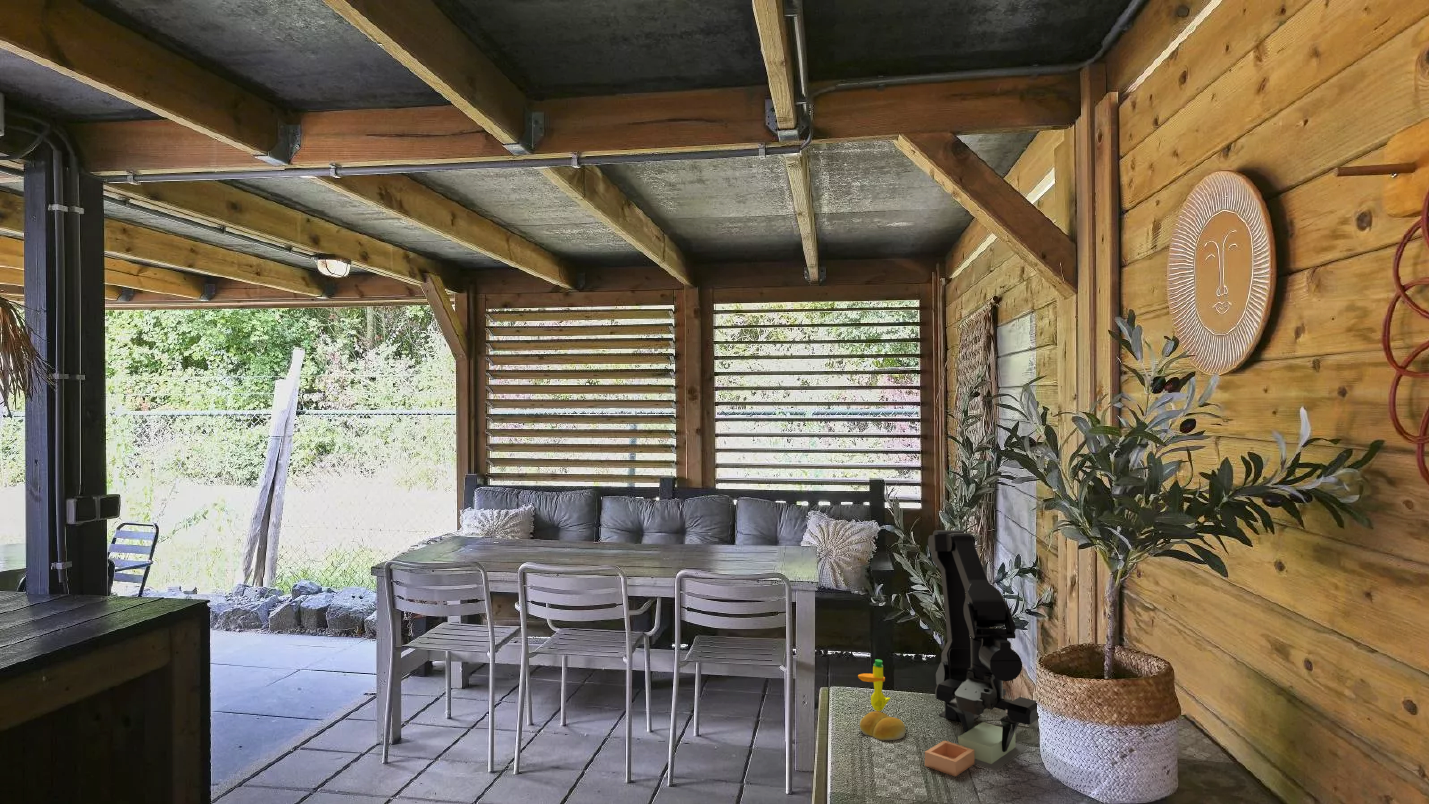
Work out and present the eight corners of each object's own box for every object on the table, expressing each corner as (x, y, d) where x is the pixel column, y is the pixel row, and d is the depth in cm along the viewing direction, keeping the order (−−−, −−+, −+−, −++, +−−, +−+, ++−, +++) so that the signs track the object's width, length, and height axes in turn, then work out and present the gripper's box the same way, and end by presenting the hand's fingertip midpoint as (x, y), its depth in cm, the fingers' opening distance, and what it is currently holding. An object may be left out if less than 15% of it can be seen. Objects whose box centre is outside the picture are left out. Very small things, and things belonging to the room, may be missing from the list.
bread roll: (889, 747, 153) (889, 726, 153) (853, 733, 159) (853, 713, 159) (915, 735, 158) (914, 715, 158) (878, 722, 165) (878, 703, 165)
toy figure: (858, 718, 166) (857, 661, 166) (858, 712, 170) (858, 656, 170) (890, 721, 165) (890, 663, 165) (891, 714, 168) (890, 658, 168)
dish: (944, 756, 148) (944, 740, 148) (974, 766, 144) (974, 749, 144) (924, 768, 143) (924, 751, 143) (955, 779, 139) (955, 762, 139)
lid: (983, 737, 155) (983, 722, 155) (1015, 747, 151) (1015, 731, 151) (958, 753, 148) (958, 737, 148) (991, 764, 144) (991, 747, 144)
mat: (979, 734, 158) (979, 731, 158) (1029, 749, 151) (1029, 746, 151) (944, 756, 148) (944, 753, 148) (995, 773, 141) (995, 770, 141)
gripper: (920, 661, 150) (920, 744, 150) (1016, 685, 137) (1016, 776, 137) (949, 649, 158) (949, 727, 158) (1042, 670, 145) (1043, 756, 145)
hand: (987, 745), depth 149 cm, fingers closed on lid, 6 cm apart
